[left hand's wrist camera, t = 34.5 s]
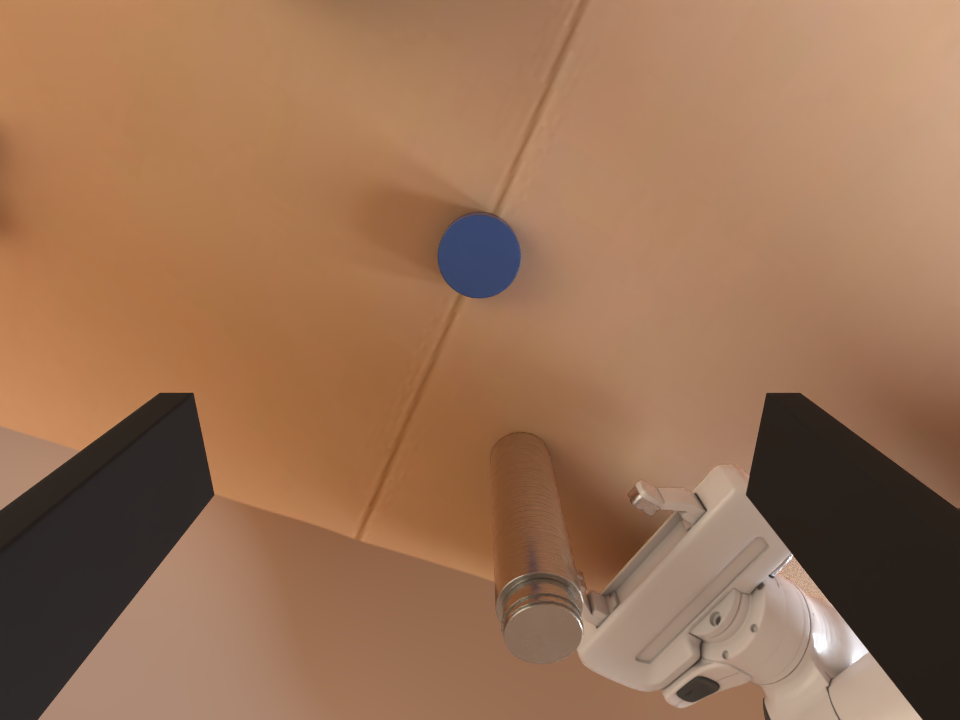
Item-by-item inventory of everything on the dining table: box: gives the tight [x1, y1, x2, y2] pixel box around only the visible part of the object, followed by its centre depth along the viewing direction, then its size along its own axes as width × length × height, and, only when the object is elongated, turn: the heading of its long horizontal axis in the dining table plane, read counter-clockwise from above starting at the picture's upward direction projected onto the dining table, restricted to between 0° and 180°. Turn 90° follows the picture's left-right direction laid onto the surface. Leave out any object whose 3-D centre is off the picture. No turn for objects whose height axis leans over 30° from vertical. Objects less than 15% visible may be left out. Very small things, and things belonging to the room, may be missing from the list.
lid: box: [438, 212, 521, 298], centre depth 39 cm, size 6×6×2 cm
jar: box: [491, 433, 584, 664], centre depth 37 cm, size 5×5×18 cm
